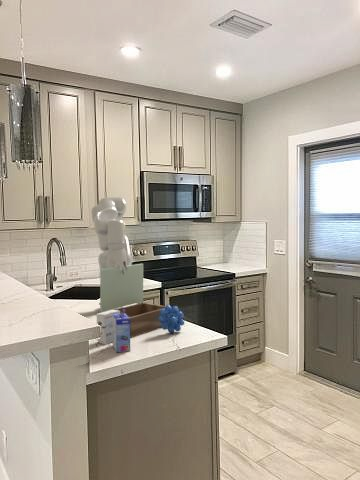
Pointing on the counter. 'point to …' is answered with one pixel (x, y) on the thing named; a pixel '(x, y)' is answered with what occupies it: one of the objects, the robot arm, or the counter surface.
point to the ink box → (106, 326)
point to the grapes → (171, 318)
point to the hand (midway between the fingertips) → (118, 285)
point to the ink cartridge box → (121, 332)
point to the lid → (121, 287)
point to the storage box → (143, 317)
